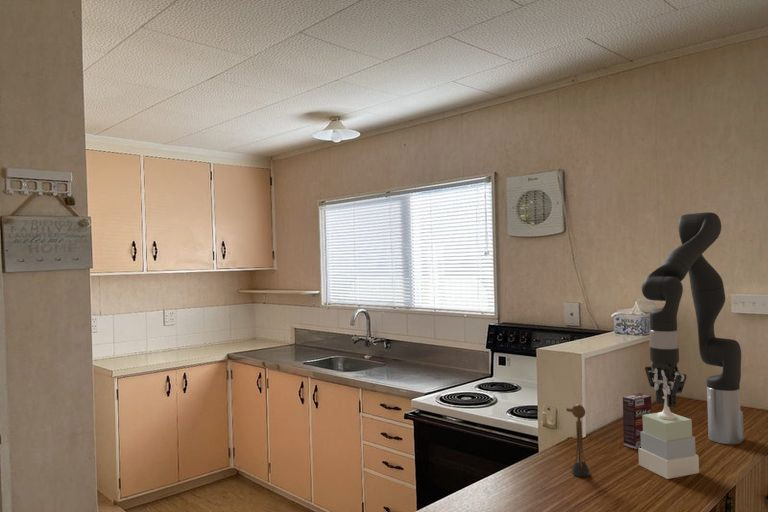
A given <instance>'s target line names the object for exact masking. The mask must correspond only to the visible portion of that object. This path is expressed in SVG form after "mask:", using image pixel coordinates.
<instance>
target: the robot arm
mask: <svg viewBox="0 0 768 512" xmlns="http://www.w3.org/2000/svg"><path fill="white" fill-rule="evenodd" d="M721 222H722V221H721V219H720V217H719V215H718V214H717V213H714V212H696V213H686V214H683V215H681V216H680V217H679V219H678V223H677V226H678V227H677V228H678V229H677V230H678V235H679V239H680V242H681V244H680V245H679V246H678V247H676V248H674V249H673V250H672V251H670V253H669V254H668V255H667V256H666V258H665V260H664V261H663V263H662V264H661V265H660V266H659V267H657V268H656V269H655V270H653V271H652V272H651V273H649V274H648V275H647V276H645V279H644V280H643V282H642V284H641V294H642V295H643V297H644V298H646V300H649V301H654V302H655V301H658V302H659V301H661V302H665V303H664V306H663V307H661V308H655V309H651V310H650V313H649V358H650V359H649V360H650V361H651V362H652V364H651V365H650V366H645V367H644V370H645V373H646V377H647V380H648V383H649V387H650V388H654V391H655V399H656V403H657V404H658V405H664V401H665V399H663V398H662V397H663V396H665V395H664V392H663V389H664V388H665V387H664V386H663V385H665V386H666V389H667V393H668V394H667V406H668V407H669V408H674V407H675V408H676V406H677V394H681V393H682V392H683V390H684V387H685V384H686V380H687V377H688V376H687V374H686V373H681V372H680V371H679V368H678V363H679V362H680V349H679V347H680V346H679V344H680V343H679V334H678V333H679V332H678V312H679V307H680V302H681V300H682V297H683V291H684V286H683V284H682V281H683V280H684V279H685V277H686V276H687V274H688V277H689V284H690V290H691V295H692V296H691V297H692V300H693V305H694V306H693V307H694V310H695V317H696V324H697V337H698V349H699V356H700V358H701V361H702V362H703V363H704V364H706V365H709V366H714V367H720V368H721V367H722V372H721V374H715V375H711V376H710V375H709V376H708V377H707V378H706V399H707V401H706V402H707V430H708V439H709V440H710V441H713V442H714V443H718V444H723V445H738V444H739V445H740V444H741V443H742V442H743V441H744V435H745V434H744V412H743V411H742V410H741V397H740V396H741V393H740V391H741V390H740V387H741V386H740V385H741V377H742V373H741V372H742V371H741V370H742V348H741V345H740V343H739V342H738V341H737V340H736V339H731V338H723V337H716V335H715V323H716V320H717V318H718V316H719V314H720V313H721V311H722V309H723V307H724V305H725V302H726V293H725V286H724V281H723V279H722V276H721V275H720V273H719V272H717V270H716V269H715V268H714V267H713V265H711V264H710V263H709V261H708V260H707V259H706V257H704V255H703V254H704V253H705V252H706V251H707V250H708V249H709V248H710V247H711V246H712V245H713V244H714V243H715V242H716V240H718V238H719V236H720V234H721V232H722V223H721Z"/></svg>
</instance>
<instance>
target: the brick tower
mask: <svg viewBox="0 0 768 512" xmlns="http://www.w3.org/2000/svg"><path fill="white" fill-rule="evenodd" d="M658 413H659V412H652V414H646V415H642V418H643V431H641V432H640V436H641V448H637V449H638V452H637V453H638V465H639V466H640V467H642V468H645V469H646V470H648V471H650V472H652V473H654V474H656V475H659V476H660V477H663V478H664V479H666V480H669V479H675V478H681V477H685V476H689V475H696V474H699V473H700V467H699V466H700V465H699V464H700V462H699V461H700V460H699V457H700V456H699V454H696V437H695V436H693V424H692V423H693V421H692V420H693V419H691V418H688V417H685V416H682V415H679V414H676V413H673V412H672V413H673V414H675V415H676V419H673V420H667V419H661V418H659V417H657V415H658Z"/></svg>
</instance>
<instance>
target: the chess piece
mask: <svg viewBox="0 0 768 512" xmlns="http://www.w3.org/2000/svg"><path fill="white" fill-rule="evenodd" d="M663 386H664V389H663V392H664V395H665V396H663V397H662V398H663V399H665V401H664V403H663V409H662V411H659V412H657V413H658V415H657V417H659V418H661V419H667V420H673V419H676V415H675V414H676V413H674V414H673V412H672V411H671V409H670V407H668V406H667V394H668V393H667V389H666V386H665V385H663Z"/></svg>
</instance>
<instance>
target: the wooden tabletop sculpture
mask: <svg viewBox="0 0 768 512" xmlns="http://www.w3.org/2000/svg"><path fill="white" fill-rule="evenodd" d="M565 409H566V412H569V413H572V415H573V416H574V417H575V418H577V420H576V421H575V424H576V425H575V427H576V431H575V432H576V452H575V453H576V454H575V461H574V464H573V466H572V468H571V474H572V475H573V476H575V477H579V478H584V477H585V478H586V477H589V476H590V474H591V473H590V471H591V470H590V467H589V466H588V465H587V463H586V459H585V458H586V457H585V454H584V445H583V443H584V442H583V428H582V426H583V425H582V424H583V423H582V422H583V421H582V420H581V419H582V418H584V417H585V415H586V409H585V408H584V406H583V405H582V404H574V405H573V406H572V408H571V407H567V408H565ZM582 458H583V460H582ZM577 460H578V461H577Z"/></svg>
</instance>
